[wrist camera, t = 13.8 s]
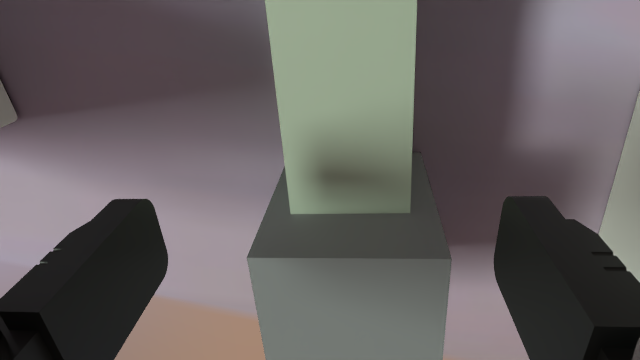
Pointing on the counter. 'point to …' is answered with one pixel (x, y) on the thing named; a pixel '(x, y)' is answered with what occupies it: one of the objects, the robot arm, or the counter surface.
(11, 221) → the counter surface
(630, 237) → the carton
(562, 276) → the robot arm
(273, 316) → the box
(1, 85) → the milk carton
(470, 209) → the counter surface
